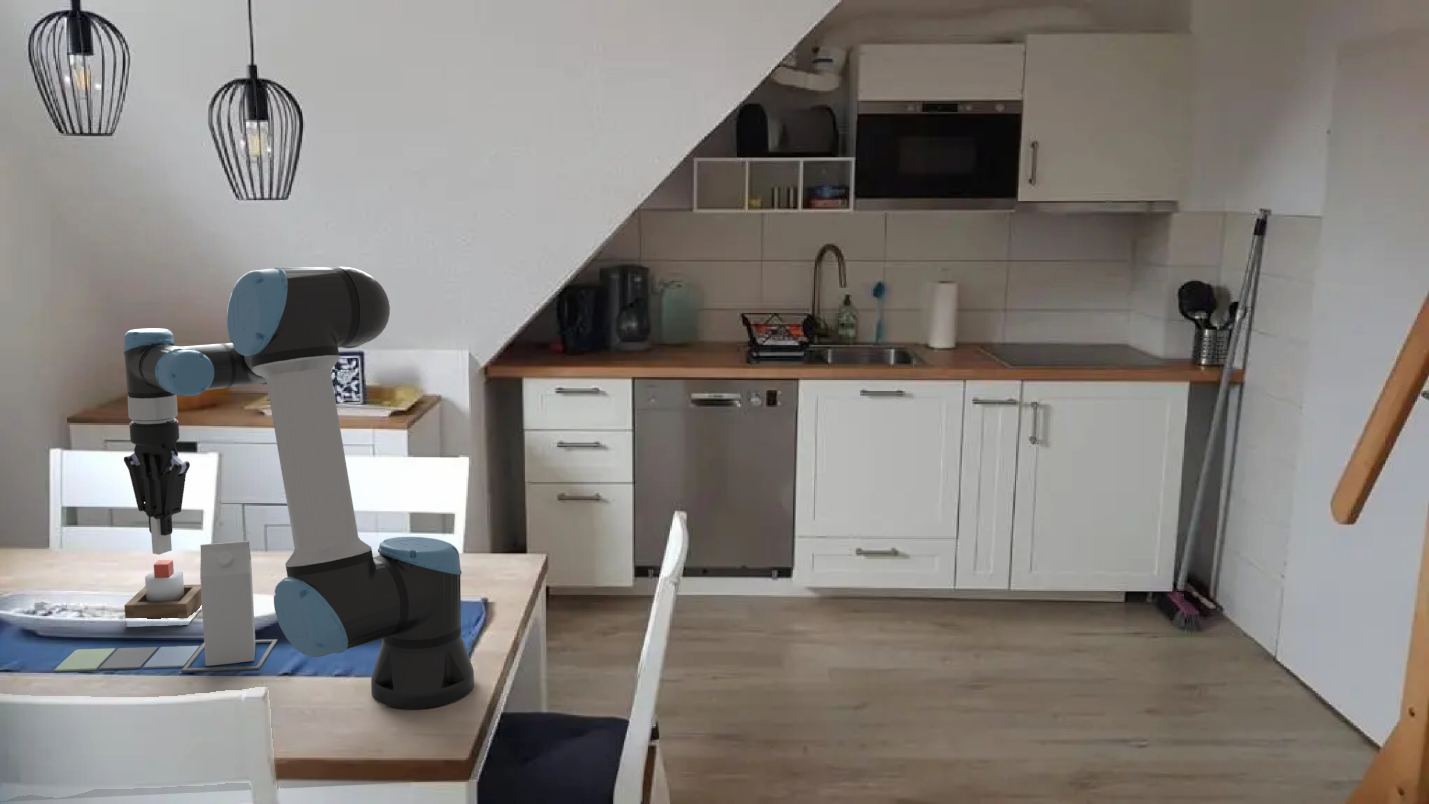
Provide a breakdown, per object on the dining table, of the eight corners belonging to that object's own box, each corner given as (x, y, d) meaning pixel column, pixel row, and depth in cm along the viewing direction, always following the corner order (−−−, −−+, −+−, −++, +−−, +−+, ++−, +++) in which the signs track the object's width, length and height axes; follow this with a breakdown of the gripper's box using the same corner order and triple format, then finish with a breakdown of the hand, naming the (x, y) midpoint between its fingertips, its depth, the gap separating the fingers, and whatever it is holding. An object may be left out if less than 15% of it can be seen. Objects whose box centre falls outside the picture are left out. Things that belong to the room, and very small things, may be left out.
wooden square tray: (187, 625, 192) (186, 603, 192) (125, 627, 191) (124, 605, 190) (205, 605, 202) (204, 584, 201) (146, 606, 201) (145, 585, 200)
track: (259, 669, 175) (259, 667, 175) (49, 676, 171) (49, 674, 171) (277, 641, 187) (277, 639, 187) (81, 646, 182) (80, 645, 182)
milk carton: (208, 650, 182) (202, 538, 179) (255, 645, 185) (249, 534, 181) (205, 667, 176) (198, 551, 172) (254, 661, 178) (248, 547, 175)
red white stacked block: (178, 603, 193) (175, 567, 192) (141, 604, 193) (138, 568, 192) (189, 591, 199) (187, 556, 198) (153, 592, 198) (151, 557, 197)
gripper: (200, 419, 192) (207, 551, 196) (144, 412, 196) (152, 541, 200) (164, 426, 185) (172, 563, 189) (107, 419, 189) (116, 552, 194)
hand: (162, 551), depth 195 cm, fingers closed
